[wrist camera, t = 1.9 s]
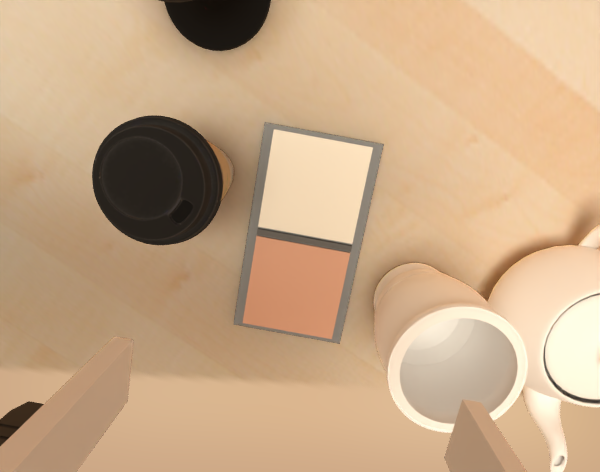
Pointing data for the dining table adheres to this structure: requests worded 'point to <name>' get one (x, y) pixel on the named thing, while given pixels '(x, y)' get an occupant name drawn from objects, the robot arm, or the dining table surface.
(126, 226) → the coffee cup
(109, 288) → the dining table surface
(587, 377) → the teapot
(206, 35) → the wine glass
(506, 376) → the jar
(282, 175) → the makeup palette
